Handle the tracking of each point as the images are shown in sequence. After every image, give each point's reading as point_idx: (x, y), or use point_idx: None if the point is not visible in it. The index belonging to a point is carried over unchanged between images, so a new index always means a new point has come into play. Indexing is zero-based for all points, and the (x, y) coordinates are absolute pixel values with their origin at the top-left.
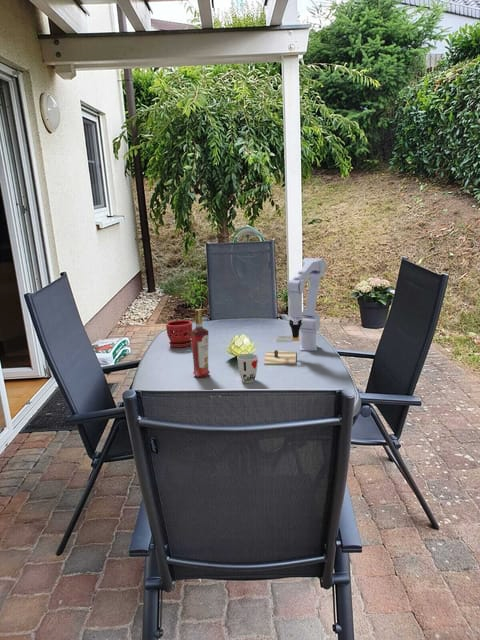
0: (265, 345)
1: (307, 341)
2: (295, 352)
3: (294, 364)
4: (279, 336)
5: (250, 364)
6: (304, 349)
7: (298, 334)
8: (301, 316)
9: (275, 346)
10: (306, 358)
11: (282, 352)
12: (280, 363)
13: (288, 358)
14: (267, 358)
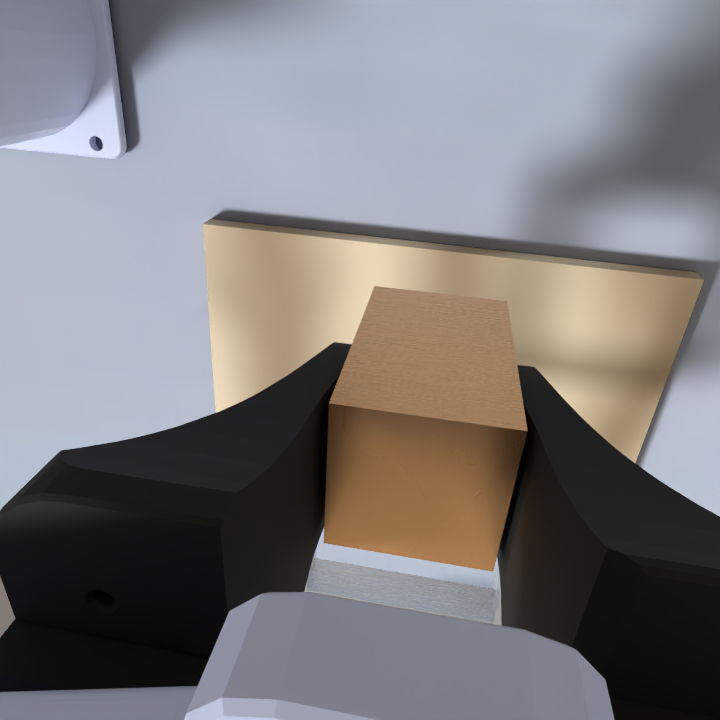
0: (14, 474)
1: (17, 54)
2: (258, 236)
3: (692, 290)
4: (307, 579)
5: None
6: (103, 99)
7: (558, 394)
8: None
9: (21, 400)
10: (447, 104)
11: (264, 376)
12: (644, 436)
13: None
14: None
